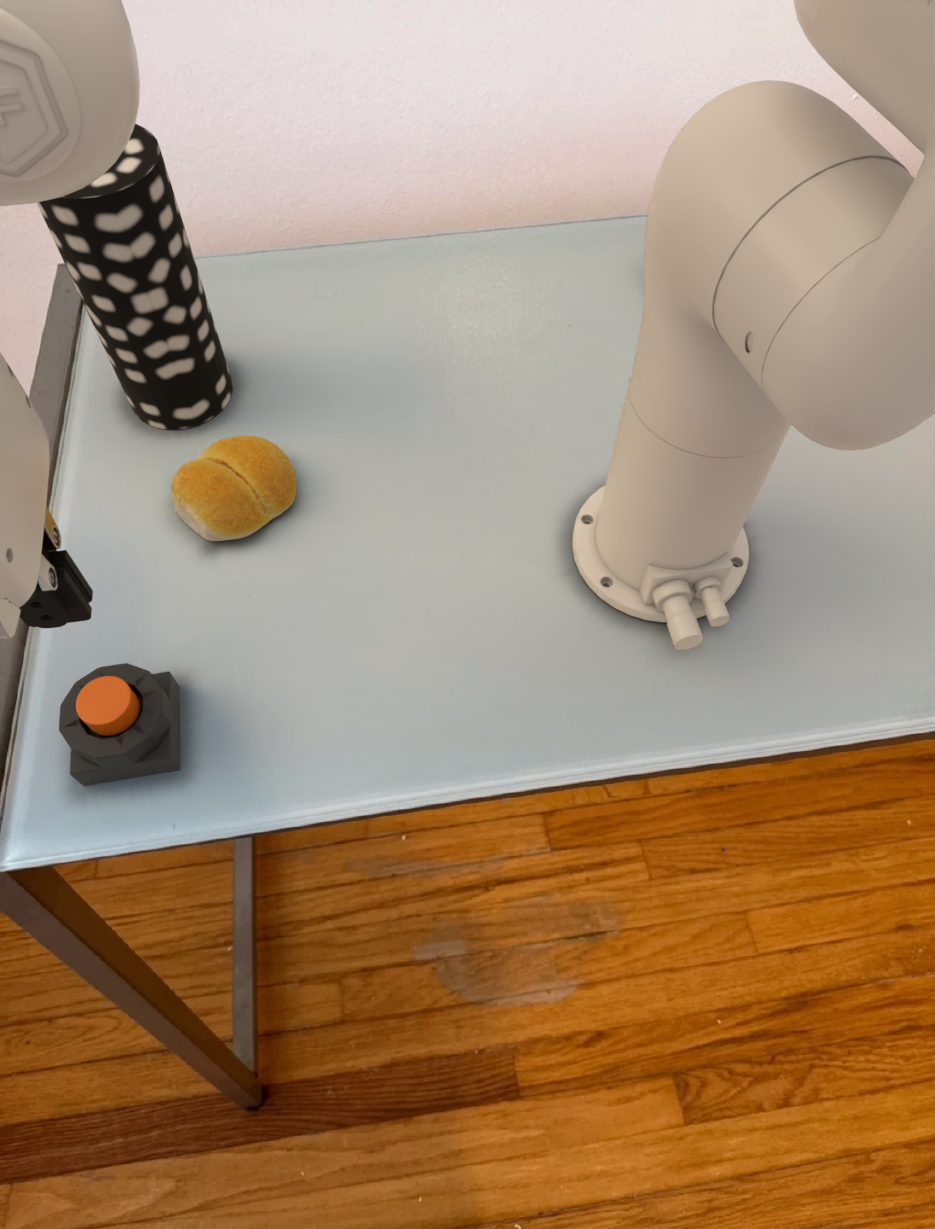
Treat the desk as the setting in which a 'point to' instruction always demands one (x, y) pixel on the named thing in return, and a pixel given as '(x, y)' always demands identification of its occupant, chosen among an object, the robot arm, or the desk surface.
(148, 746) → the control block
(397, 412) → the desk surface
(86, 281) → the spotted tube
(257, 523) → the bread roll
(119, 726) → the button
